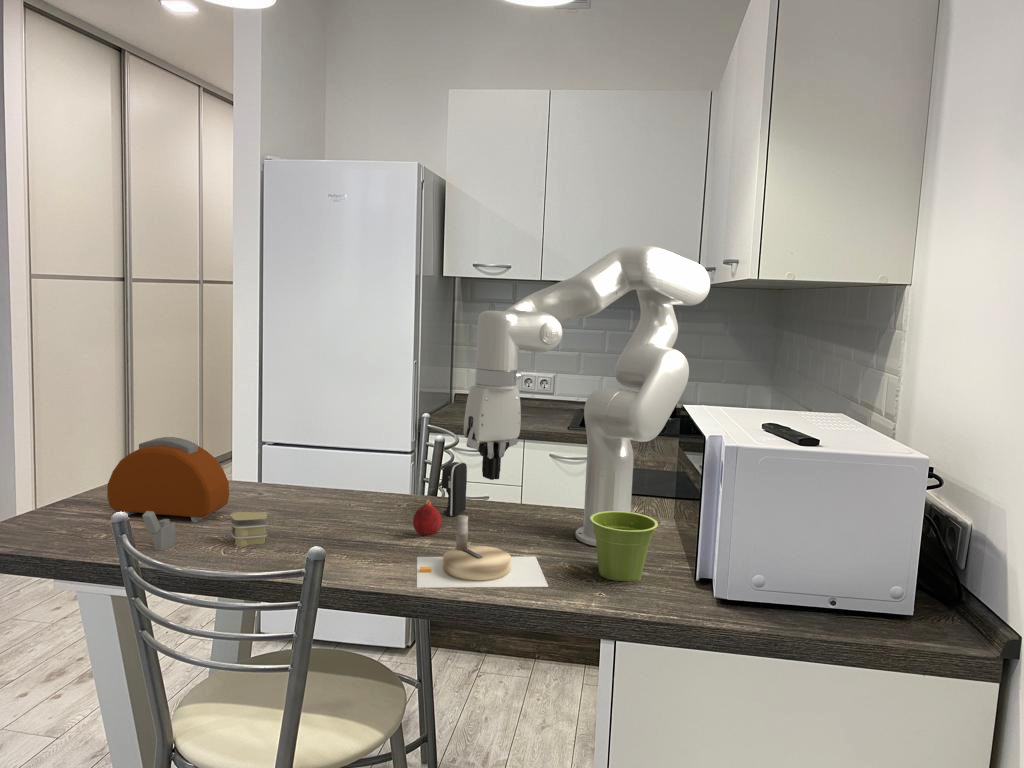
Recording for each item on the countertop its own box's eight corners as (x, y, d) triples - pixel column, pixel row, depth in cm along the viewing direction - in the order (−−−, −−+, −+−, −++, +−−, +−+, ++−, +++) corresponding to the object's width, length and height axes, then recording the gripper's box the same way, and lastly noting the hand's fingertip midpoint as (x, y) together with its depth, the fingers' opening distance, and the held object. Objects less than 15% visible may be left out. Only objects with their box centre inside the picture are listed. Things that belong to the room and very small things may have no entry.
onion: (436, 544, 159) (437, 505, 158) (408, 542, 160) (409, 503, 159) (444, 536, 164) (445, 498, 163) (417, 533, 165) (418, 495, 164)
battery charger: (451, 507, 185) (452, 459, 184) (466, 509, 184) (467, 461, 183) (438, 515, 179) (440, 465, 177) (454, 517, 177) (455, 467, 176)
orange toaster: (230, 513, 175) (230, 438, 173) (209, 524, 166) (208, 445, 164) (132, 505, 178) (130, 431, 176) (106, 516, 169) (104, 438, 167)
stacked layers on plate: (275, 535, 162) (275, 508, 161) (274, 549, 153) (274, 521, 153) (223, 537, 160) (223, 510, 159) (218, 551, 151) (218, 523, 150)
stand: (535, 564, 150) (535, 553, 149) (548, 595, 135) (548, 583, 134) (416, 564, 147) (417, 553, 147) (416, 596, 132) (416, 584, 132)
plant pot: (608, 597, 135) (611, 533, 133) (575, 573, 145) (578, 513, 144) (667, 589, 139) (671, 526, 138) (631, 567, 150) (634, 508, 149)
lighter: (168, 543, 154) (167, 502, 153) (176, 544, 153) (175, 503, 152) (142, 554, 147) (141, 512, 146) (150, 555, 146) (149, 513, 146)
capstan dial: (524, 571, 140) (526, 527, 139) (467, 585, 133) (468, 538, 132) (485, 552, 150) (486, 510, 149) (430, 563, 143) (431, 519, 142)
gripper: (516, 376, 153) (511, 470, 155) (449, 377, 144) (445, 477, 146) (540, 380, 147) (535, 478, 149) (473, 382, 138) (468, 486, 140)
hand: (490, 477), depth 147 cm, fingers closed
